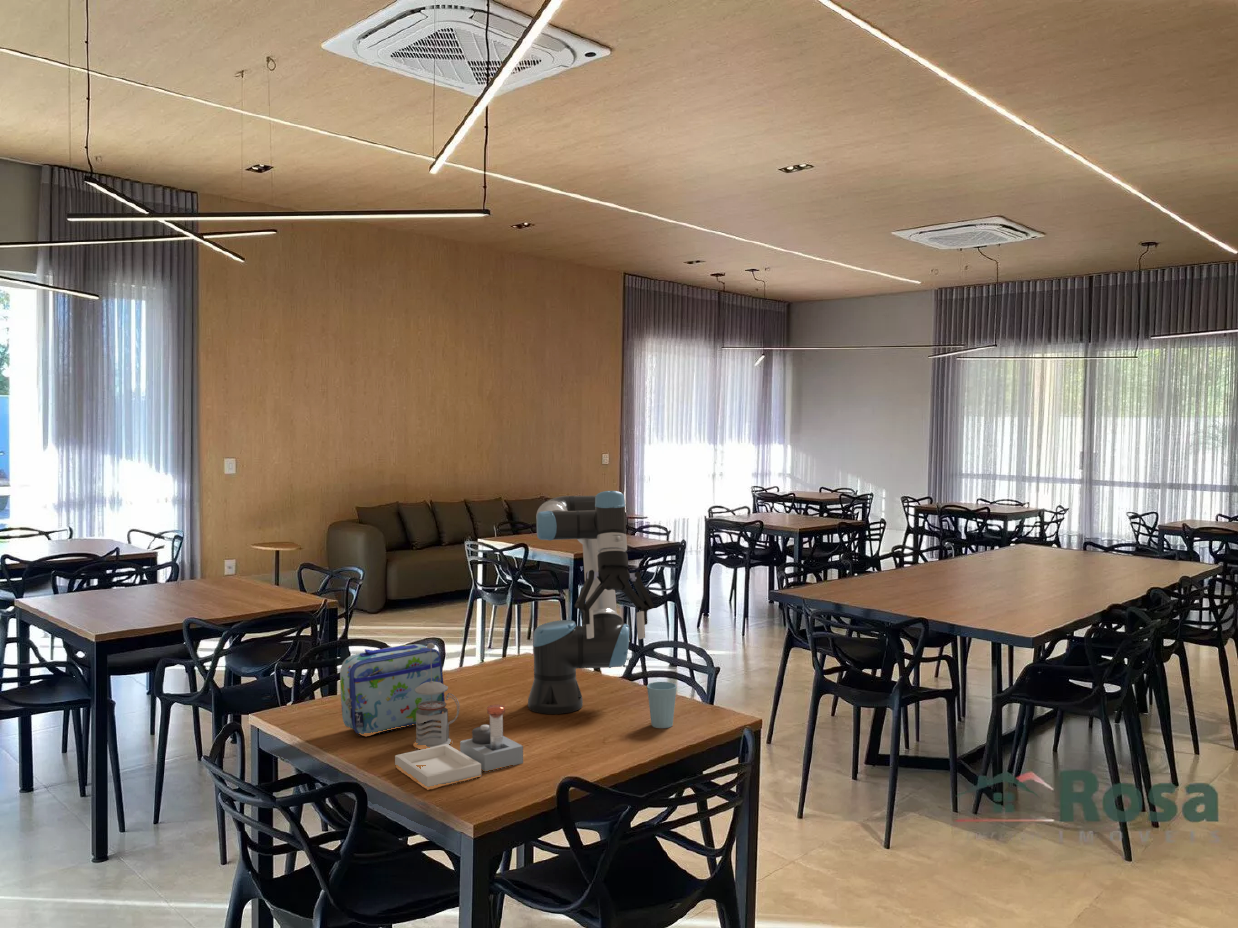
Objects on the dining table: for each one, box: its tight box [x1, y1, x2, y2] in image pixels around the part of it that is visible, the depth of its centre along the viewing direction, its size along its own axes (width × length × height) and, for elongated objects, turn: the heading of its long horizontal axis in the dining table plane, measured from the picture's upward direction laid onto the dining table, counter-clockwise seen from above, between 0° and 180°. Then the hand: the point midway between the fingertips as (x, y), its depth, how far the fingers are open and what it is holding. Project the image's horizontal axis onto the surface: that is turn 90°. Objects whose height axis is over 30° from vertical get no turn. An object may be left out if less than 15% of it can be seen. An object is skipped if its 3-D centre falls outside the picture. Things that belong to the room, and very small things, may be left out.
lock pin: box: [486, 704, 506, 751], centre depth 222 cm, size 4×4×13 cm
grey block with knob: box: [459, 724, 524, 771], centre depth 224 cm, size 12×10×7 cm
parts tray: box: [394, 744, 482, 787], centre depth 217 cm, size 17×13×3 cm
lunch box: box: [339, 643, 446, 735], centre depth 250 cm, size 26×11×21 cm, turn 126°
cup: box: [646, 681, 678, 729], centre depth 250 cm, size 8×8×10 cm
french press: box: [415, 642, 460, 747], centre depth 236 cm, size 10×12×25 cm
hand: (616, 638), depth 234 cm, fingers open, 13 cm apart
